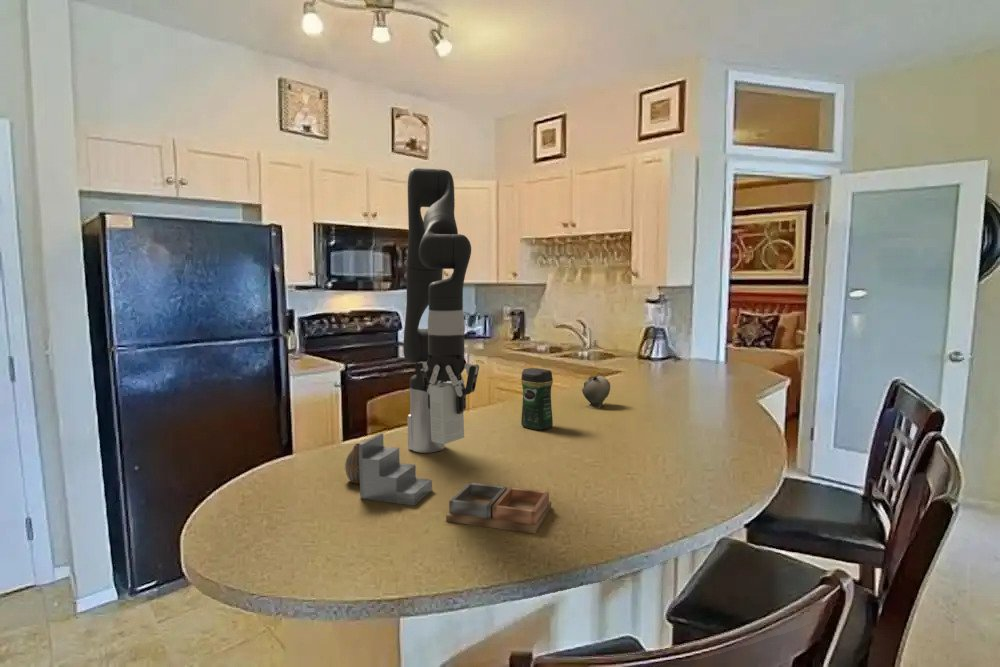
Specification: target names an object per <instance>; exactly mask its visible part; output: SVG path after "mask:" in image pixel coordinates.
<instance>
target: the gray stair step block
mask: <svg viewBox="0 0 1000 667" xmlns="http://www.w3.org/2000/svg"><path fill="white" fill-rule="evenodd" d="M359 443H360V444H359V469H360V484H359V498H360V499H363V500H371V501H376V502H385V503H392V504H400V505H407V506H413V507H414V506H415V505H416V504H418V503H419V502H420V501H422V500H423V499H424V498H425V497H426V496H427V495H428V494H430V493H431V492H433V480H432V479H430V478H429V479H428V478H421V477H416V474H417V472H416V470H417V469H416V464H411V463H403V462H402V463H401V462H400V448H399V447H394V446H393V447H392V446H385V445H384V433H383V432H381V433H378V434H376V435H374V436H372V437H370V438H368V439H366V440H365V441H363V442H359Z"/></svg>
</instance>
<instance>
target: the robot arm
mask: <svg viewBox="0 0 1000 667" xmlns="http://www.w3.org/2000/svg"><path fill="white" fill-rule="evenodd" d="M454 182H455V181H454V178H453V175H452V173H451V172H450V171H449V170H447V169H441V168H424V167H413V168H411V169H410V171H409V173H408V178H407V217H408V218H407V219H408V220H407V221H408V223H407V224H408V240H407V256H406V257H407V258H406V307H405V308H406V309H405V319H404V320H405V321H404V322H405V323H404V332H403V344H402V345H403V349H402V350H403V356H404V359H405V361H406V362H407V363H408V364H409V363H410V364H414V370H415V374H413V375H412V376H411V377H410V378H409V398H410V399H409V402H410V403H409V405H410V406H409V407H410V409H409V410H410V412H409V413H410V414H407V416H406V417H407V419H406V420H407V449H408V450H410V451H413V452H415V453H425V454H426V453H437V452H440V451H442V450H444V449H445V445H446V444H440V443H436V442H433V441H431V416H430V388H429V386H430V385H435V384H439V383H444V382H448V381H451V382H452V385H453V387H455V390H456V392H457V395H458V396H457V397H456V413H457V414H462V413H463V414H464V411H465V410H466V408H467V395H470V394H472V393H474V392H475V391H476V386H477V381H478V380H477V379H478V374H479V370H480V365H478V364H472V363H468V362H467V361H466V358H465V351H466V350H465V332H466V331H465V330H466V329H465V328H466V327H465V318H464V302H463V300H464V299H463V297H464V296H463V294H464V284H465V277H466V274H467V269H468V267H469V263H470V259H471V257H472V256H471V255H472V245H471V242H470V239H469V238H468V237H467V236H466V235H465V234H461V233H458V232H459V231H458V227H457V221H456V218H455V207H456V206H455V201H456V200H455V183H454ZM422 208H427V210H426V212H425V214H424V216H422V212H421V209H422ZM444 270H453V272H452V273H451V275H450V276H449V277H448V278H445V279H443V271H444ZM427 308H428V316H427V328H419V326H420V322H421V320H422V319H421V318H422V317H423V314H424V313H425V311H426V309H427ZM464 370H465V372H466V373H465V374H466V375H467V380H466V384H465V380H464V377H463V375H462V373H463V372H464Z"/></svg>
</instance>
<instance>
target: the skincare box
mask: <svg viewBox="0 0 1000 667" xmlns="http://www.w3.org/2000/svg"><path fill="white" fill-rule="evenodd" d="M429 388H430V416H431V441H433V442H436V443H440V444H444V445H446V444H449V443H453V442H456V441H458V440H461V439H464V438H465V425H464V424H465V420H464V418H465V416H464V412H463V413H462V414H457V413H456V397H457V396H458V395H457V392H456V390H455V387H453V385H452V382H451V381H444V383H439V384H435V385H430V386H429Z"/></svg>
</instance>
